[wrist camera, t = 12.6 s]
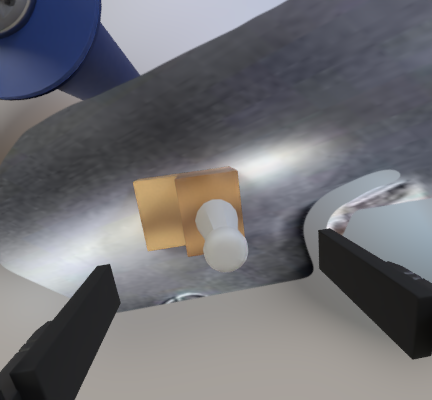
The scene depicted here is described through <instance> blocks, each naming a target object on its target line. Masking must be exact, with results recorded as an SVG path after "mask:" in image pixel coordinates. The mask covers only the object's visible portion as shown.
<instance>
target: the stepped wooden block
mask: <svg viewBox="0 0 432 400" xmlns="http://www.w3.org/2000/svg"><path fill="white" fill-rule="evenodd" d="M133 185H134V190H135V194H136V199H137V204H138V208H139V213H140V217H141V222H142V227H143V231H144V236H145V240H146V245H147V249H148V251H153V250H159V249H166V248H172V247H178V246H185V245H186V249H187V255H188V257H191V256H197V255H203V254H204V252H203V247H204V243H205V239H204V238H203V236H202V235H201V234H200V232H199V231H198V229H197V225H196V222H195V219H196V215H197V211H198V210H199V209H200V207H201V206H202V205H203V204H204V203H206V202H208V201H210V200H214V199H222V200H224V201H226V202H228V203H230V204H231V205H232V206H233V208H234V209H235V210H236V212H237V217H238V230H239V231H240V232H241V234H242V235H243V236H244V227H243V217H242V208H241V199H240V190H239V181H238V172H237V170H235V169H233V168H231V167H222V168H214V169H207V170H200V171H193V172H186V173H179V174H172V175H165V176H157V177H150V178H143V179H138V180H136V181H134V182H133ZM244 237H245V236H244Z"/></svg>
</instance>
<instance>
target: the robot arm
mask: <svg viewBox="0 0 432 400" xmlns="http://www.w3.org/2000/svg"><path fill="white" fill-rule="evenodd" d="M36 1H37V0H0V39H1V38H5V37H8V36H10V35H12V34H14V33H16V32H17V31H19V30H20V29H21V28H22V27H23V26H24V25H25V24H26V23H27V22H28V20H29V19H30V17H31V15H32V13H33V11H34V8H35V5H36ZM318 232H319V268H320V270H321V271H322V272H323V273H324V274H325V275H326V276H327V277H328V278H330V279H331V280H332V281H333V282H334V283H335V284H336V285H337V286H338V287H339V288H340V289H341V290H342V291H343V292H344V293H345V294H346V295H347V296H348V297H349V298H350V299H351V300H352V301H353V302H354V303H355V304H356V305H357V306H358V307H359V308H360V309H361V310H362V311H363V312H364V313H365V314H367V316H368V317H369V318H371V319H372V320H373V321H374V322H375V323H376V324H377V325H378V326H379V327H380V328H381V329H382V330H383V331H384V332H385V333H386V334H387V335H388V336H389V337H390V338H391V339H392V340H393V341H394V342H395V343H396V344H397V345H398V346H399V347H400V348H401V349H402V350H403V351H404V352H405V353H406V354H408V356H409V357H411V358H412V359H418V358H422V357H428V356H431V354H432V283H430V282H429V281H427V280H425V279H422V278H421V277H420V276H418V275H416V274H415V273H412V272H411V271H409V270H408V269H406V268H404V267H403V266H400V265H398V264H395V263H392V262H389V261H388V262H385V261H383V260H382V259H380V258H378V257H377V256H375V255H373V254H372V253H370V252H368V251H367V250H365V249H363V248H362V247H360V246H358V245H357V244H355V243H353V242H352V241H350V240H348V239H347V238H345V237H343V236H342V235H340V234H338V233H337V232H335V231H333V230H332V229H330V228H329V229H323V230H318ZM119 305H120V299H119V295H118V292H117V288H116V284H115V281H114V277H113V273H112V269H111V266H110V264H107V265H101V266H97V267H96V268H95V269H94V271H93V272H92V273H91V274H90V275H89V277H88V278H87V279H86V280H85V282H84V283H83V284H82V285H81V286H80V288H79V289H78V290H77V291H76V293H75V294H74V295H73V296H72V297H71V299H70V300H69V301H68V302H67V304H66V305H65V306H64V307H63V308H62V310H61V311H60V312H59V313H58V315H57V316H56V317H55V318H54V320H53V321H48V322H47V323H45V324H44V325H43V326H41V327H40V328H39V329H38V330H36V331H35V332H34V334H33V335H32V336H31V337H30V338H29V339H28V340H27V343H26V344H24V345H23V346H22V347H21V349H20V350H19V352H18V353H16V354H15V355H14V357H13V358H12V359H11V360H10V361H9V362H8V364H7V365H6V366H5V367H4V368H3V369H2V371H1V372H0V400H75V398H76V396H77V394H78V392H79V389H80V387H81V385H82V383H83V381H84V379H85V377H86V375H87V373H88V370H89V368H90V366H91V364H92V362H93V360H94V358H95V356H96V353H97V352H98V349H99V347H100V345H101V343H102V341H103V339H104V337H105V335H106V333H107V330H108V328H109V326H110V324H111V322H112V320H113V318H114V316H115V314H116V312H117V309H118V307H119Z"/></svg>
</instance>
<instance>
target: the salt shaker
mask: <svg viewBox="0 0 432 400" xmlns="http://www.w3.org/2000/svg"><path fill="white" fill-rule="evenodd" d="M195 222H196V225H197V229H198V231H199V232H200V234H201V235H202V236H203V238H204V239H205V243H204V247H203V252H204V255H205V259H206V261H207V263H208V264H209V265H210V266H211V267H212V268H213V269H215V270H217V271H220V272H232V271H234V270H236V269H238V268H240V267H241V266H242V265H243V264H244V262H245V261H246V259H247V255H248V246H247V241H246V239H245V237H244V236H243V235H242V234H241V232H240V231H239V230H238V217H237V212H236V210H235V209H234V208H233V206H232V205H231V204H230V203H228V202H226V201H224V200H222V199H214V200H210V201H208V202H206V203H204V204H203V205H202V206H201V207H200V209H199V210H198V211H197V215H196V219H195Z"/></svg>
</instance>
